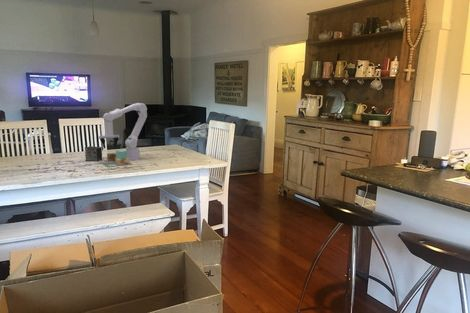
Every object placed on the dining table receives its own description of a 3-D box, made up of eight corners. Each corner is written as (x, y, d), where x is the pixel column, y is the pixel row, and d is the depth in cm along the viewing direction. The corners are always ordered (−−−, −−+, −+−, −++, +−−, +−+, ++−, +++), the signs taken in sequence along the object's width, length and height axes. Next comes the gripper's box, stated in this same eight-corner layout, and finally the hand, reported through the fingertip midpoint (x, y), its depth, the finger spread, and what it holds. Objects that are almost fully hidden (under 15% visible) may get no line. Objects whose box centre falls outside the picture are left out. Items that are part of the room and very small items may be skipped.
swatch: (114, 164, 251) (114, 164, 251) (116, 166, 247) (116, 165, 247) (107, 165, 248) (107, 165, 248) (109, 166, 244) (109, 166, 244)
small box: (102, 160, 268) (102, 146, 266) (97, 162, 261) (96, 148, 259) (90, 159, 270) (90, 145, 268) (85, 161, 264) (84, 147, 262)
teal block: (122, 157, 257) (122, 149, 256) (127, 158, 254) (127, 150, 253) (116, 158, 253) (115, 150, 252) (121, 159, 250) (120, 151, 249)
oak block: (125, 162, 259) (125, 157, 258) (128, 164, 254) (128, 158, 253) (115, 163, 255) (115, 158, 254) (118, 165, 250) (118, 159, 249)
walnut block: (114, 160, 270) (114, 153, 269) (117, 161, 265) (116, 154, 264) (107, 160, 267) (107, 153, 266) (109, 162, 262) (109, 154, 261)
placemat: (126, 161, 264) (126, 161, 264) (133, 165, 253) (133, 164, 253) (101, 164, 254) (101, 163, 254) (107, 168, 243) (107, 167, 243)
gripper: (117, 128, 266) (117, 146, 269) (97, 129, 258) (98, 147, 260) (120, 129, 260) (120, 147, 263) (99, 130, 252) (100, 149, 255)
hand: (109, 147), depth 261 cm, fingers open, 7 cm apart
